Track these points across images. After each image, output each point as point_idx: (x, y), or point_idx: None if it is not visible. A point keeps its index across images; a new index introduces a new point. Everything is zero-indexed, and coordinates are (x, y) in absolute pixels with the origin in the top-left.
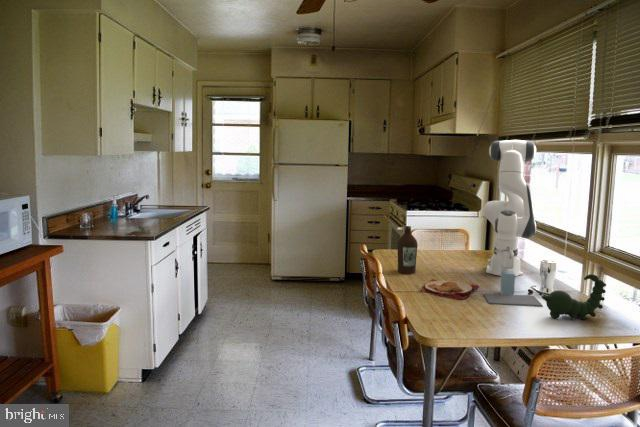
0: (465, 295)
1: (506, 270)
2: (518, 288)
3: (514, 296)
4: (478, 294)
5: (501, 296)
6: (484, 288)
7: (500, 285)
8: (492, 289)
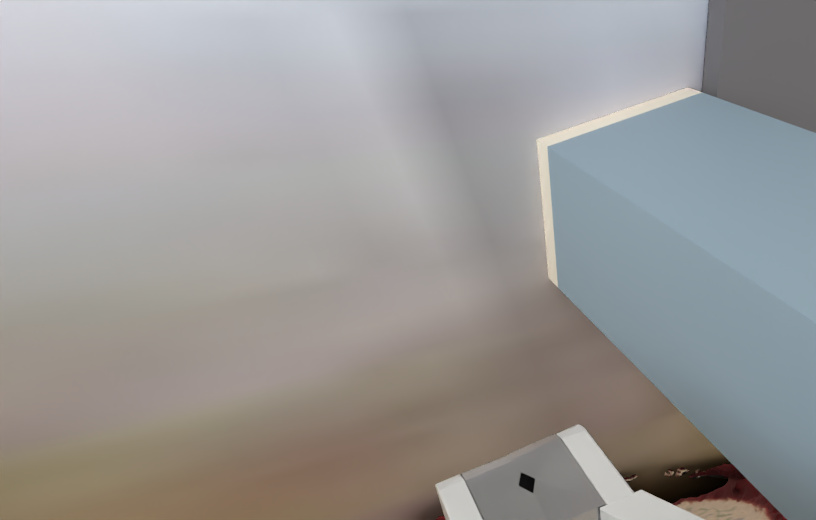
0: None
1: (666, 513)
2: (184, 37)
3: (797, 74)
4: (678, 420)
5: None
6: (439, 453)
7: (606, 335)
8: (451, 378)
